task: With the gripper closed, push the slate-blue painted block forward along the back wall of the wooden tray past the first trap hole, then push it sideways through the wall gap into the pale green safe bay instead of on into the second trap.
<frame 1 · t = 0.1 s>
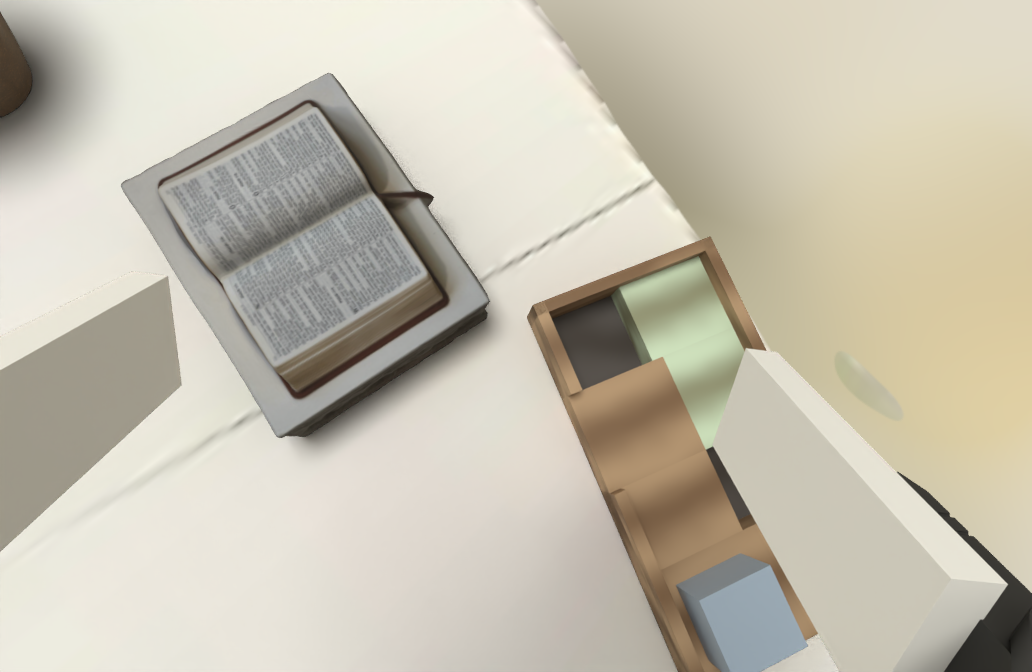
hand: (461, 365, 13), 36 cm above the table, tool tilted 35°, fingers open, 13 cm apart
wooden tray: (686, 451, 49), on the table
block: (724, 605, 44), point 3 cm above the table, touching wooden tray
bible: (327, 268, 50), on the table
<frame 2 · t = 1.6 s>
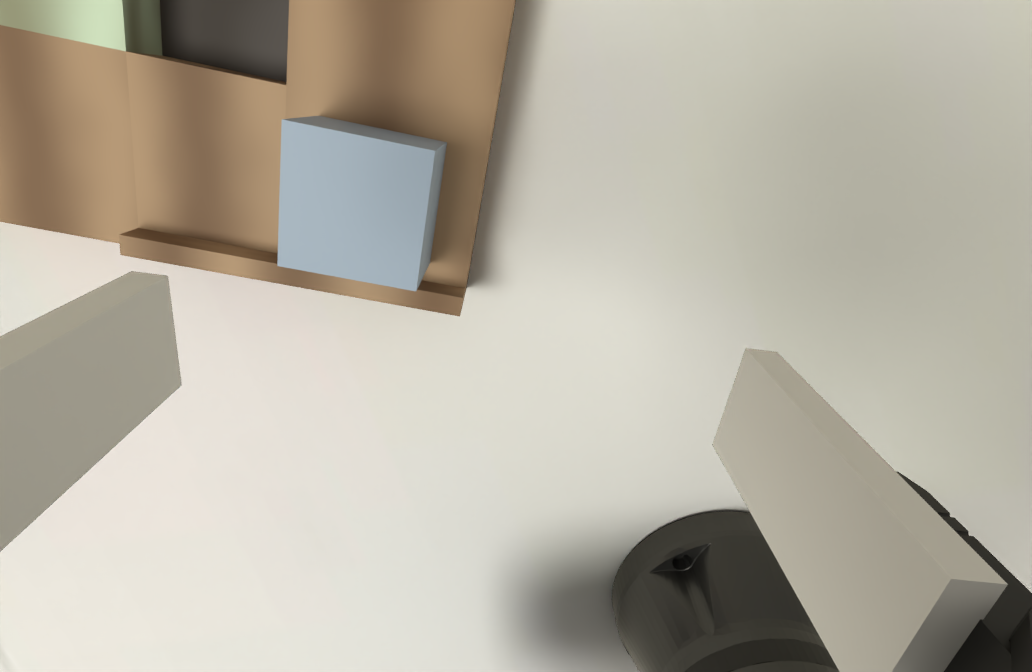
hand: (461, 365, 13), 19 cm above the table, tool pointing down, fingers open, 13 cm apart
wooden tray: (165, 67, 27), on the table
block: (377, 193, 27), point 3 cm above the table, touching wooden tray
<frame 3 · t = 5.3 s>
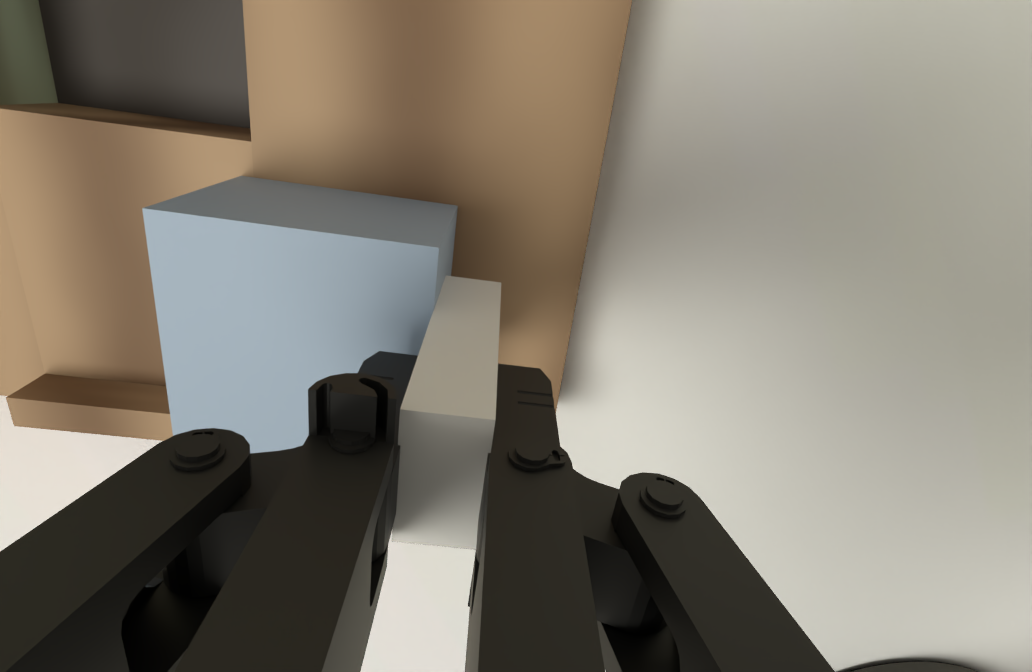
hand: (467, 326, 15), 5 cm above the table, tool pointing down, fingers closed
wooden tray: (66, 119, 17), on the table
block: (349, 291, 17), point 3 cm above the table, touching gripper
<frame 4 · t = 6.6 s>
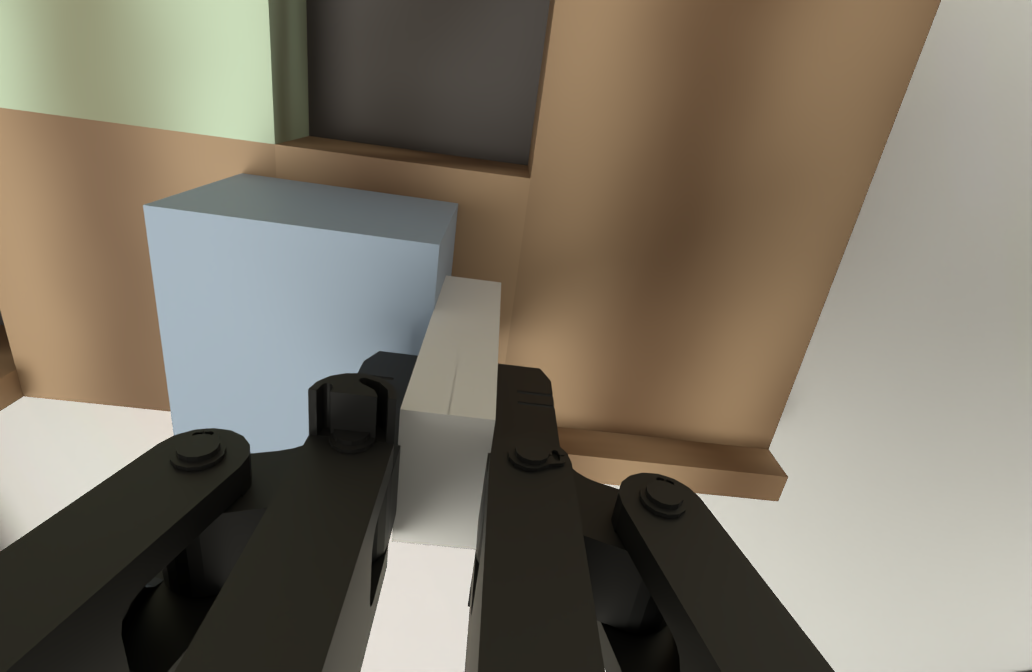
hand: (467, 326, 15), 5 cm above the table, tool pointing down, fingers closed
wooden tray: (311, 151, 18), on the table
block: (349, 289, 17), point 3 cm above the table, touching gripper
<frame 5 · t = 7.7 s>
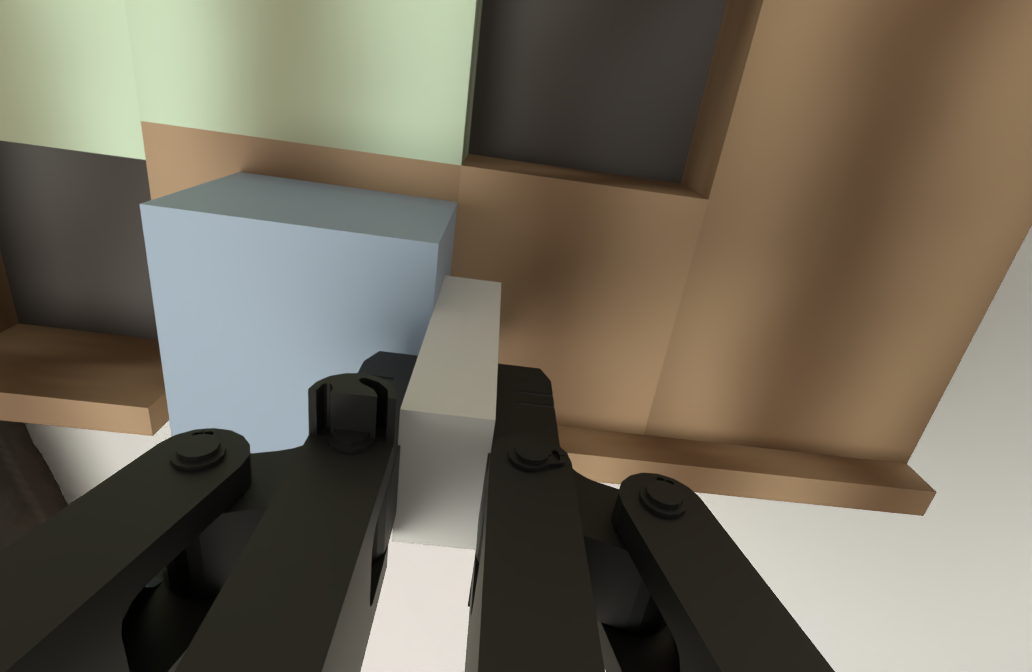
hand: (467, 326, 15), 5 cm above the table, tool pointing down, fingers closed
wooden tray: (467, 169, 18), on the table
block: (348, 288, 17), point 3 cm above the table
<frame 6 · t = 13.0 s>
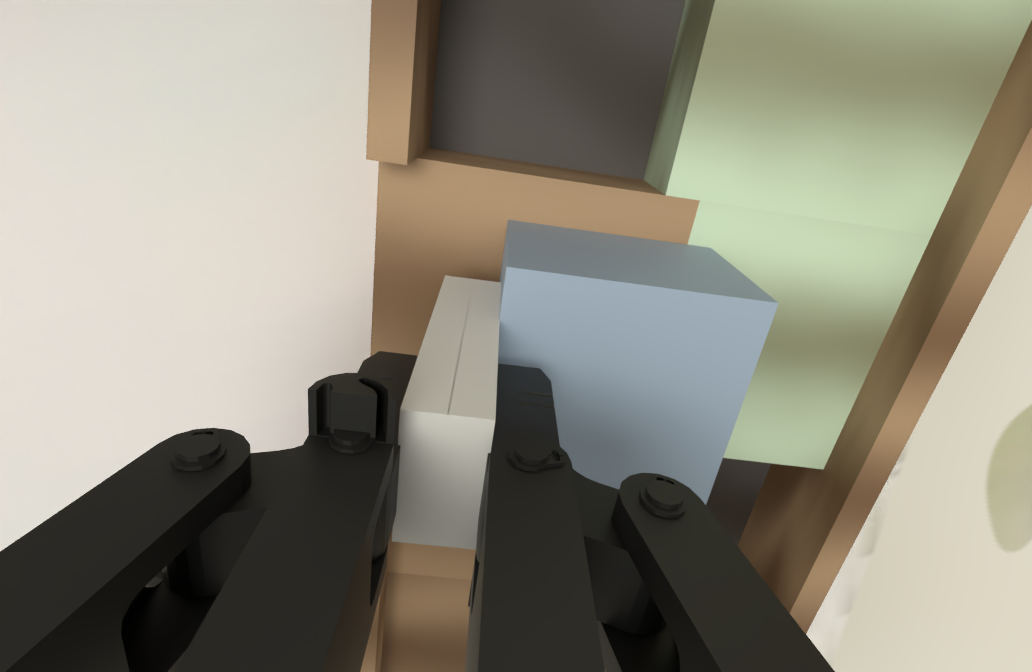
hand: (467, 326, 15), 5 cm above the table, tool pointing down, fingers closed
wooden tray: (603, 400, 22), on the table
block: (590, 328, 17), point 3 cm above the table, touching gripper
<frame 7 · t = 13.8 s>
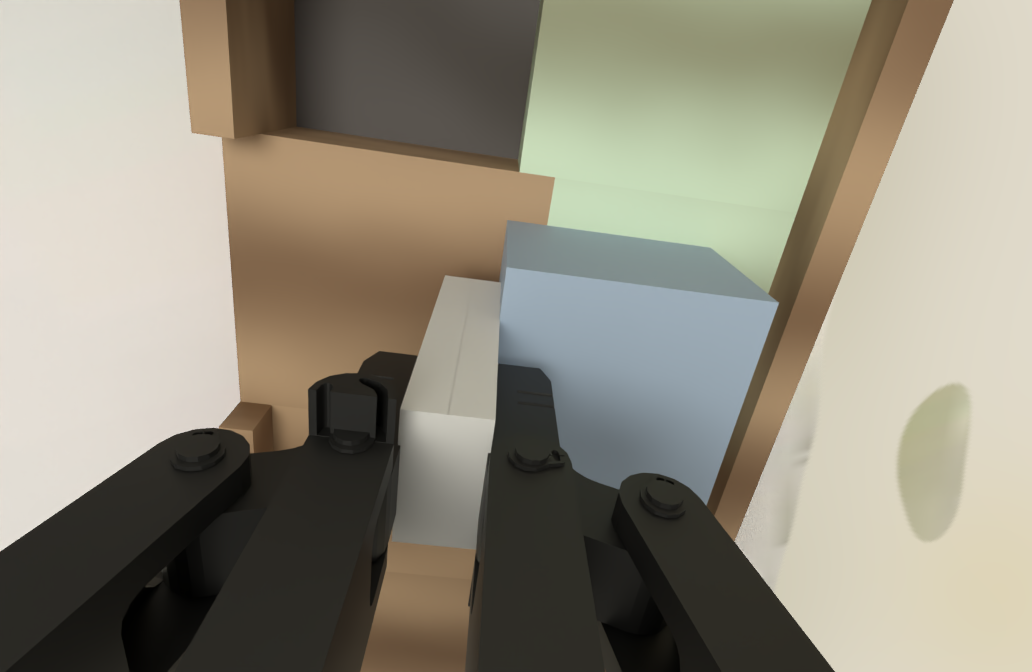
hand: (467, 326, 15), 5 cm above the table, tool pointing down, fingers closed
wooden tray: (499, 386, 21), on the table
block: (590, 328, 17), point 3 cm above the table, touching gripper, wooden tray
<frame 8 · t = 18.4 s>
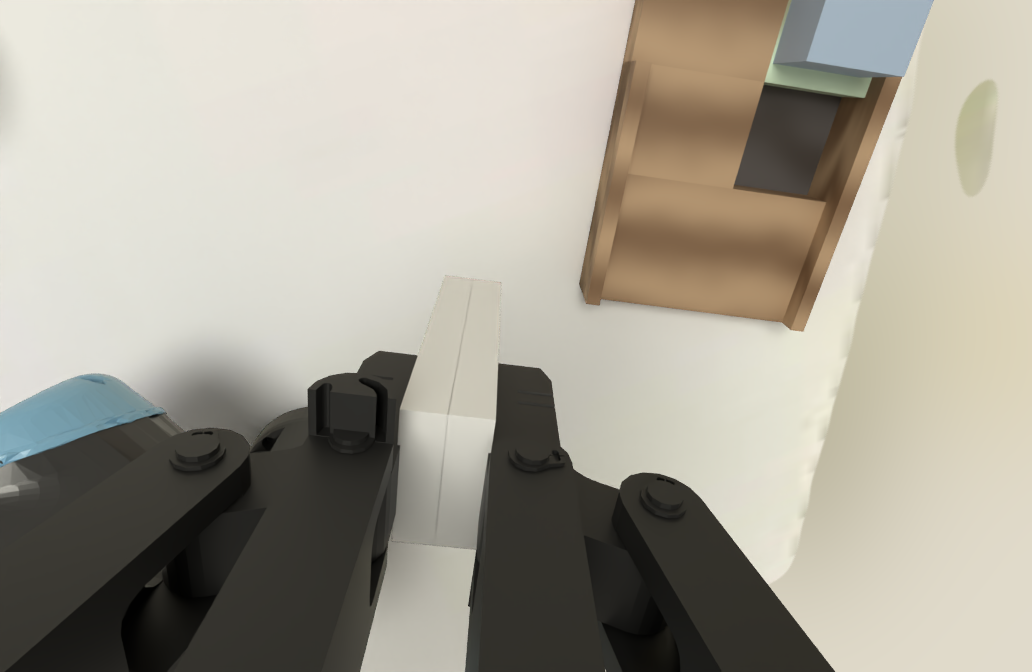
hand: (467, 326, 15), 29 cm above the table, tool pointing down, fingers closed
wooden tray: (739, 81, 39), on the table
block: (833, 18, 35), point 3 cm above the table, touching wooden tray
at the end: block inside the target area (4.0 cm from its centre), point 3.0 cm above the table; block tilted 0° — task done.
